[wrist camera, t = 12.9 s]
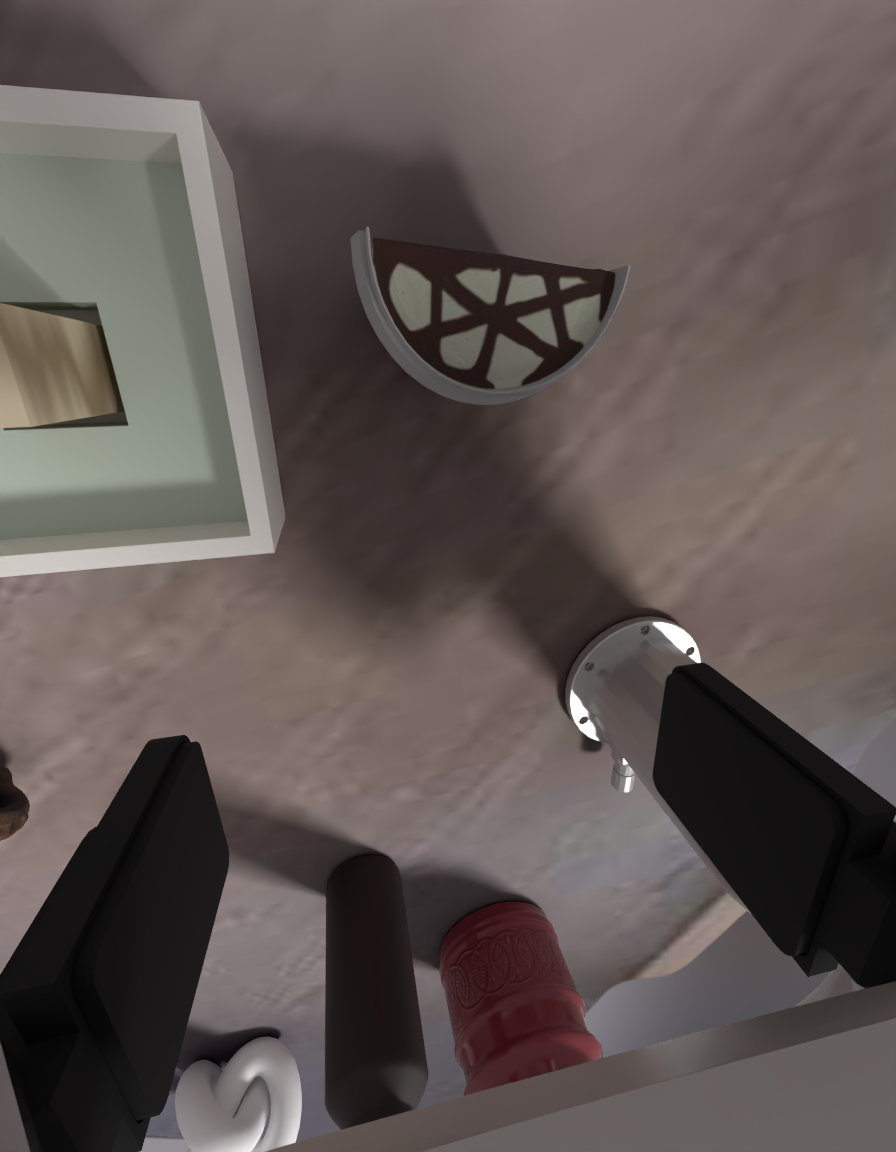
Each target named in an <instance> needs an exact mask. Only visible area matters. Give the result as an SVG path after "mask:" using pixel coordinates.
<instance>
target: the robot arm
mask: <svg viewBox="0 0 896 1152" xmlns="http://www.w3.org/2000/svg"><path fill="white" fill-rule="evenodd" d="M565 703H566V707H567V711H568V713H569V715H570V717H571V719H572V721H573V722H574V723H575V725H576V726H577V727H578V728H579V730H580V731H581V732H582V733H584V734H585V735H586V736H587V737H589V738H592V739H594V740H596V741H599V742H604V743H607V744H608V745H609V746H610V747H611V749H612V754H611V755H612V757H613V759H614V760H615V764H614V765H613V770H612V777H611V784H612V786H613V787H614V788H615V789H616V790H618V791H621V792H630V791H631V790H632V789H633V784H634V778H635V774H636V775H637V776H638V778H639V779H640V780H641V782H642V783H643V784H644V786H645V787H646V788H647V789H648V791H649V792H650V793H651V795H652V796H653V797H654V799H655V800H656V801H657V802H658V804H659V805H660V806H661V808H662V809H663V810H664V812H665V813H666V814H667V815H668V817H669V818H670V819H671V821H672V822H673V823H674V825H675V826H676V827H677V828H678V830H679V831H680V832H681V834H682V835H683V836H684V838H685V839H686V840H687V841H688V843H689V844H690V845H691V847H692V848H693V849H694V851H695V852H696V853H697V854H698V856H699V857H700V858H701V860H702V861H703V862H704V864H705V865H706V866H707V867H708V869H709V870H710V871H711V873H712V874H713V875H714V876H715V878H716V879H717V880H718V882H719V883H720V884H721V886H722V887H723V888H724V889H725V890H726V891H727V893H728V894H729V895H730V896H731V897H732V898H733V899H734V900H735V901H736V902H737V903H738V904H739V905H741V906H742V907H743V908H744V909H746V910H747V911H748V912H750V913H751V914H752V915H753V916H754V918H755V919H756V920H757V921H758V923H759V924H760V925H761V927H762V928H763V929H764V931H765V932H766V933H767V935H768V936H769V937H770V938H771V939H772V941H773V942H774V944H775V945H776V946H777V947H778V948H779V949H780V950H781V951H782V952H783V953H784V954H786V955H789V956H792V957H793V958H794V960H795V961H796V962H797V963H798V965H799V966H800V967H801V969H802V970H803V971H804V972H805V974H806V975H807V976H808V977H809V976H813V975H817V974H820V973H824V972H828V971H832V970H833V971H832V972H831V973H830V974H829V975H828V976H827V977H826V978H825V979H824V981H823V983H822V984H821V985H820V986H819V987H817V988H816V989H815V990H814V991H813V992H812V993H811V994H809V995H808V996H807V997H806V998H805V999H803V1000H802V1001H801V1002H800V1003H799V1004H797V1005H796V1006H795V1007H793V1008H789V1009H785V1010H781V1011H777V1012H774V1013H770V1014H766V1015H762V1016H758V1017H755V1018H751V1019H747V1020H743V1021H739V1022H736V1023H732V1024H728V1025H724V1026H721V1027H717V1028H713V1029H709V1030H706V1031H702V1032H698V1033H694V1034H690V1035H687V1036H683V1037H679V1038H676V1039H672V1040H668V1041H664V1042H661V1043H657V1044H653V1045H649V1046H646V1047H642V1048H638V1049H635V1050H631V1051H627V1052H623V1053H620V1054H616V1055H612V1056H609V1057H605V1058H601V1059H598V1060H594V1061H590V1062H586V1063H583V1064H579V1065H575V1066H572V1067H568V1068H564V1069H561V1070H557V1071H553V1072H550V1073H546V1074H542V1075H539V1076H535V1077H531V1078H528V1079H524V1080H520V1081H516V1082H513V1083H509V1084H505V1085H502V1086H498V1087H494V1088H491V1089H487V1090H483V1091H480V1092H476V1093H473V1094H469V1095H465V1096H462V1097H458V1098H455V1099H451V1100H447V1101H444V1102H440V1103H436V1104H433V1105H429V1106H426V1107H422V1108H418V1109H415V1110H411V1111H408V1112H404V1113H400V1114H397V1115H393V1116H390V1117H386V1118H382V1119H379V1120H375V1121H372V1122H368V1123H364V1124H361V1125H357V1126H354V1127H350V1128H346V1129H343V1130H339V1131H335V1132H332V1133H328V1134H325V1135H321V1136H317V1137H314V1138H310V1139H307V1140H303V1141H299V1142H296V1143H292V1144H289V1145H285V1146H282V1147H278V1148H275V1149H272V1150H268V1151H265V1152H896V816H895V815H896V807H895V806H893V805H892V804H890V803H889V802H888V801H887V800H885V799H884V798H883V797H881V796H880V795H879V794H877V793H876V792H874V791H873V790H872V789H871V788H870V787H868V786H867V785H866V784H864V783H863V782H861V781H860V780H859V779H858V778H856V777H855V776H854V775H852V774H851V773H850V772H849V771H847V770H846V769H845V768H843V767H842V766H841V765H839V764H838V763H837V762H835V761H834V760H833V759H831V758H830V757H829V756H827V755H826V754H825V753H824V752H822V751H821V750H820V749H818V748H817V747H816V746H814V745H813V744H812V743H810V742H809V741H808V740H806V739H805V738H804V737H802V736H801V735H800V734H799V733H797V732H796V731H795V730H793V729H792V728H791V727H789V726H788V725H787V724H785V723H784V722H783V721H781V720H780V719H779V718H777V717H776V716H775V715H774V714H772V713H771V712H770V711H768V710H767V709H766V708H764V707H763V706H762V705H760V704H759V703H758V702H756V701H755V700H754V699H752V698H751V697H750V696H749V695H747V694H746V693H745V692H743V691H742V690H741V689H739V688H738V687H737V686H735V685H734V684H733V683H731V682H730V681H729V680H727V679H726V678H725V677H724V676H722V675H721V674H720V673H718V672H717V671H716V670H714V669H713V668H712V667H710V666H709V665H707V664H705V663H700V653H699V650H698V647H697V644H696V642H695V641H694V639H693V638H692V636H691V635H690V634H689V633H688V632H687V631H685V630H684V629H683V628H682V627H680V626H679V625H677V624H676V623H674V622H673V621H670V620H667V619H664V618H661V617H652V616H647V617H636V618H633V619H629V620H625V621H623V622H620V623H618V624H616V625H614V626H612V627H610V628H608V629H607V630H605V631H604V632H602V633H601V634H599V635H598V636H597V637H596V638H595V639H593V640H592V641H591V642H590V643H589V644H588V645H587V646H586V647H585V649H584V650H583V651H582V652H581V653H580V655H579V656H578V658H577V659H576V661H575V663H574V664H573V666H572V668H571V671H570V673H569V676H568V678H567V683H566V688H565ZM228 866H229V850H228V845H227V841H226V838H225V834H224V830H223V827H222V823H221V819H220V815H219V812H218V808H217V804H216V801H215V797H214V793H213V790H212V786H211V782H210V778H209V775H208V771H207V767H206V764H205V760H204V756H203V753H202V749H201V746H200V744H199V743H198V742H190V740H189V738H188V737H187V736H185V735H181V736H173V737H166V738H159V739H152V740H150V741H148V743H147V744H146V745H145V747H144V749H143V750H142V752H141V754H140V755H139V757H138V759H137V760H136V762H135V764H134V765H133V767H132V769H131V770H130V772H129V774H128V775H127V777H126V779H125V781H124V782H123V784H122V786H121V787H120V789H119V791H118V792H117V794H116V796H115V797H114V799H113V801H112V802H111V804H110V806H109V807H108V809H107V811H106V812H105V814H104V816H103V818H102V819H101V821H100V823H99V824H98V826H97V827H95V828H93V829H92V830H91V831H89V832H88V834H87V835H86V836H85V837H84V839H83V840H82V842H81V843H80V845H79V847H78V848H77V850H76V851H75V853H74V855H73V856H72V858H71V860H70V861H69V863H68V865H67V866H66V868H65V869H64V871H63V873H62V874H61V876H60V878H59V879H58V881H57V883H56V884H55V886H54V888H53V889H52V891H51V892H50V894H49V896H48V897H47V899H46V901H45V902H44V904H43V906H42V907H41V909H40V910H39V912H38V914H37V915H36V917H35V919H34V920H33V922H32V924H31V925H30V927H29V929H28V930H27V932H26V933H25V935H24V937H23V938H22V940H21V942H20V943H19V945H18V947H17V948H16V950H15V952H14V953H13V955H12V956H11V958H10V960H9V961H8V963H7V965H6V966H5V968H4V970H3V971H2V973H1V974H0V1152H139V1151H141V1150H142V1146H143V1142H144V1139H145V1135H146V1132H147V1128H148V1125H149V1121H150V1118H151V1117H154V1116H157V1115H160V1113H161V1112H162V1111H163V1108H164V1106H165V1104H166V1101H167V1098H168V1095H169V1091H170V1087H171V1084H172V1080H173V1076H174V1072H175V1069H176V1065H177V1061H178V1057H179V1053H180V1050H181V1046H182V1042H183V1038H184V1035H185V1031H186V1027H187V1023H188V1019H189V1016H190V1012H191V1008H192V1004H193V1000H194V997H195V993H196V989H197V985H198V982H199V978H200V974H201V970H202V966H203V963H204V959H205V955H206V951H207V948H208V944H209V940H210V936H211V932H212V929H213V925H214V921H215V917H216V913H217V910H218V906H219V902H220V898H221V895H222V891H223V887H224V883H225V879H226V876H227V872H228Z"/></svg>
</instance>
